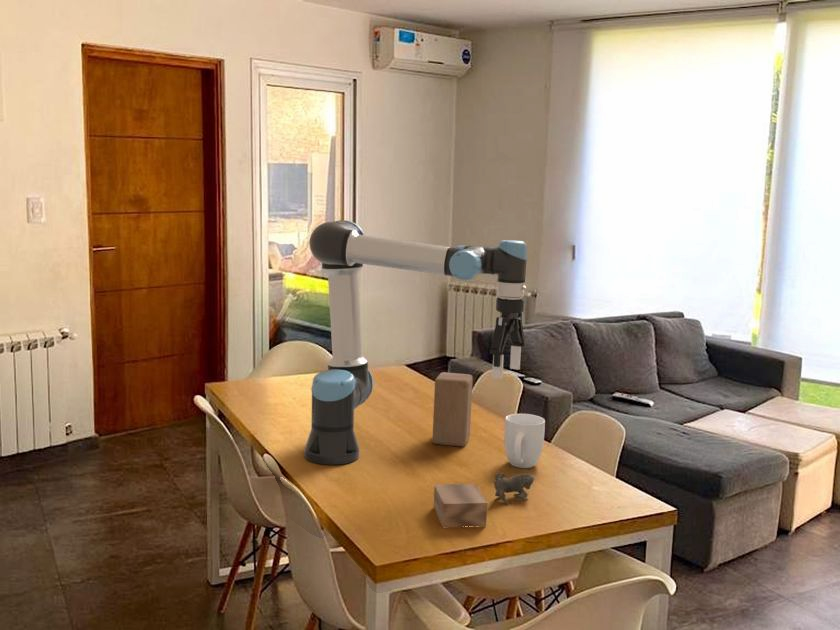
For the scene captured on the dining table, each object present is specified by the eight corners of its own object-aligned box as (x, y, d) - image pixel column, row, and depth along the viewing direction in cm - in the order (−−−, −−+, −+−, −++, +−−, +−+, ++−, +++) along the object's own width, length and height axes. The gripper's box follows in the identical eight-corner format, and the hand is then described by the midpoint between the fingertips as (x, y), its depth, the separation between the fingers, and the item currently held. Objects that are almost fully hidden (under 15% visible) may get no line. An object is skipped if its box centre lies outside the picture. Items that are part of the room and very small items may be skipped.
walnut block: (442, 529, 193) (443, 503, 192) (433, 508, 204) (434, 484, 203) (485, 528, 194) (487, 502, 193) (474, 507, 206) (475, 483, 205)
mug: (536, 477, 227) (539, 430, 225) (495, 472, 231) (498, 425, 229) (545, 461, 242) (548, 416, 239) (507, 455, 245) (509, 411, 243)
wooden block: (465, 448, 250) (468, 381, 247) (431, 444, 252) (434, 378, 249) (470, 438, 260) (473, 373, 257) (437, 434, 262) (440, 371, 259)
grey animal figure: (501, 506, 207) (502, 477, 206) (488, 498, 212) (489, 469, 211) (541, 498, 213) (542, 470, 212) (527, 491, 218) (529, 463, 216)
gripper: (507, 304, 221) (502, 384, 224) (538, 293, 243) (534, 366, 246) (480, 301, 224) (476, 380, 227) (513, 291, 246) (509, 363, 249)
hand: (506, 373), depth 237 cm, fingers open, 13 cm apart
